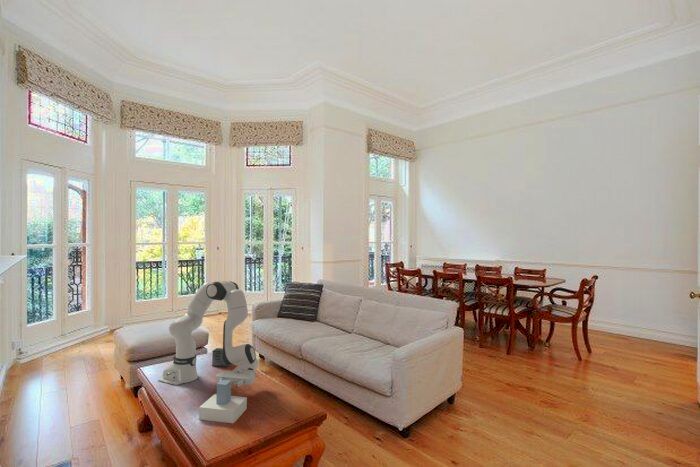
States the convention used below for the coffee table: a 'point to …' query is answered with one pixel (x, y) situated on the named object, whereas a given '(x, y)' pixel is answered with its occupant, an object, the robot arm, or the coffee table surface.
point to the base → (223, 409)
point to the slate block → (223, 392)
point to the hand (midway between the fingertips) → (228, 384)
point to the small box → (218, 358)
